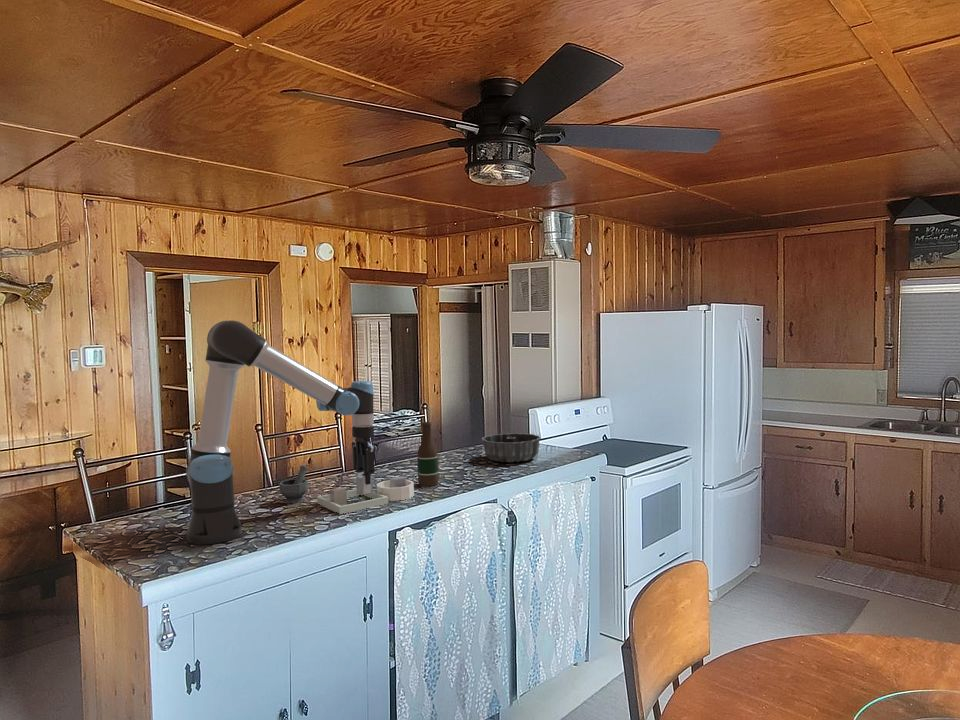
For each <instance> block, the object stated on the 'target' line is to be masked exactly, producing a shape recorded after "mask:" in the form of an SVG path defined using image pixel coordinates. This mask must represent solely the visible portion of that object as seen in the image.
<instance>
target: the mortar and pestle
mask: <svg viewBox="0 0 960 720" xmlns="http://www.w3.org/2000/svg"><path fill="white" fill-rule="evenodd" d="M308 470H309V467H308V466H307V465H302V464H301V465H300V466H299V471H298V473H297V474H296V478H293V479H292V478H290V479H286V480H282V481H280V482H279V484H278V486H279V491H280V494H281V495H282V497H284V498H285V499H284V502H285V503H286V504H290V503H293V504H299V503H298V502H300V503H302V502H304V495H305V494H306V493H307V491H308V487H309V480H307V479H305V478H306V477H305V476H306V473H307V471H308ZM301 501H302V502H301Z"/></svg>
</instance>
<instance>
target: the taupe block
mask: <svg viewBox="0 0 960 720" xmlns="http://www.w3.org/2000/svg"><path fill="white" fill-rule="evenodd" d="M346 491H347V488H344V487H342V486H341V487H336V488H332V489H331V488H330V489H329V494H330V501H332V502H334V503H336V504H338V505H340V506H343V505H348V500H347V499H348V498H347V494H346Z"/></svg>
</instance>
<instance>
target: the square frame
mask: <svg viewBox="0 0 960 720" xmlns="http://www.w3.org/2000/svg"><path fill="white" fill-rule="evenodd" d="M346 494H347V499H350V497H351V498H355V497H354V496H356V497H359V494H357V493H356V488H355V489H349V490H346ZM366 496H367V497H366ZM364 497H366V498H369V497H370V498H369V499H368V500H363V501H359V502H354V503H350V504H348V503H347V505H343V506H340V505H338V504H336V503H334V502H332V501H330V493H329V494H324V495H323V494H322V495H319V496H316V503H318V504H317V505H319V504H320V505H319V506H321V505H322V507H323V508H326V509H328V510H330V511H331V512H334V513H336V512H337V513H336V514H338V513H339V515H343V513H344V514H348V512H349V513H352V512H357V511H361V510H362V509H363V510H367V509H370V508H371V507H372V508H375V506H376V507H380V506H379V505H381V506H385V505H389V501H388V497H387V496H384V495H382V494H379V493H377V491H373V493H371V494H366V495H364ZM371 498H372V499H371ZM384 504H385V505H384ZM366 508H367V509H366Z"/></svg>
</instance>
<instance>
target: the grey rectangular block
mask: <svg viewBox="0 0 960 720" xmlns="http://www.w3.org/2000/svg"><path fill="white" fill-rule="evenodd" d="M389 480H390V488H396V487H403V486H406V480H407V479H406V477H404V476H394V477H390V478H389Z"/></svg>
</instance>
